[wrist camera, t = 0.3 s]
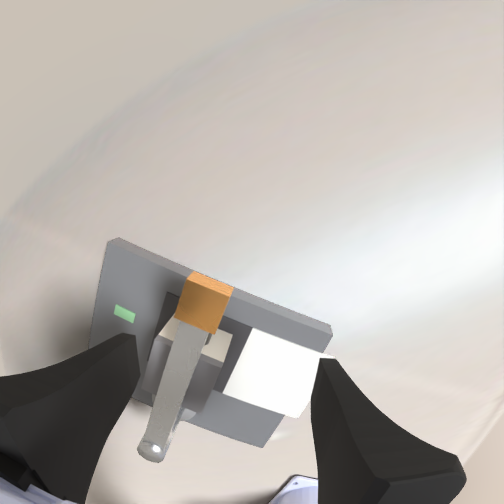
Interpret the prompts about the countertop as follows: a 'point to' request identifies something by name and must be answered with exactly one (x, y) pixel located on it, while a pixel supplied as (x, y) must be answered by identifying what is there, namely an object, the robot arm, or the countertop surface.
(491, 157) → the countertop surface
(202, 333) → the orange-tipped grey rod
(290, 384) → the grey flat board
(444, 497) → the robot arm
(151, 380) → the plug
